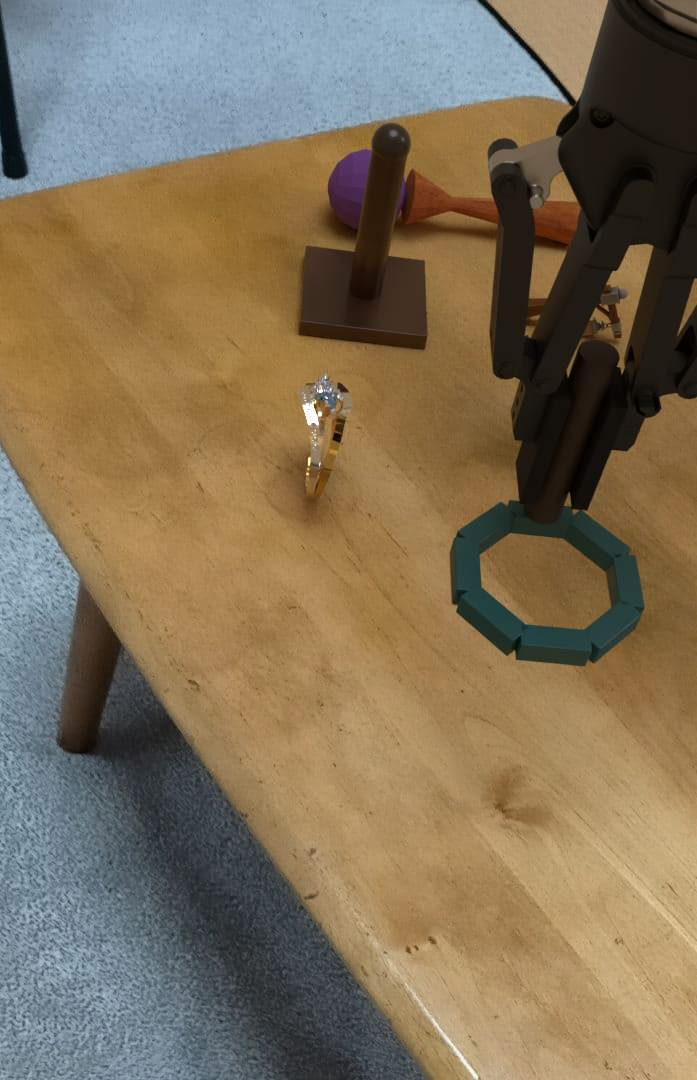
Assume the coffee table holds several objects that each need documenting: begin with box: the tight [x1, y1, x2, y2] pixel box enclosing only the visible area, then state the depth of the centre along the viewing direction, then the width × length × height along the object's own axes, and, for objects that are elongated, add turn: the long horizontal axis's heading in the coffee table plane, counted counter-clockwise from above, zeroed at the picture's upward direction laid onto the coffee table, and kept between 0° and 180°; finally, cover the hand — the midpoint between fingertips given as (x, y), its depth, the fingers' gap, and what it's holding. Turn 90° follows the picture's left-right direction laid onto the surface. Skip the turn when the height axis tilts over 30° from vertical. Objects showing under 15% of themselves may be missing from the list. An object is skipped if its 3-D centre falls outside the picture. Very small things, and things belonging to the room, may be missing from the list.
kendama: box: [327, 148, 581, 245], centre depth 96 cm, size 6×6×20 cm
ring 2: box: [449, 338, 646, 667], centre depth 54 cm, size 9×9×11 cm
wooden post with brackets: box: [527, 284, 629, 340], centre depth 91 cm, size 2×8×4 cm, turn 79°
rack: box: [298, 122, 428, 350], centre depth 85 cm, size 9×9×14 cm
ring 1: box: [298, 371, 354, 500], centre depth 75 cm, size 7×3×8 cm, turn 176°
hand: (551, 485), depth 59 cm, fingers closed on ring 2, 2 cm apart
